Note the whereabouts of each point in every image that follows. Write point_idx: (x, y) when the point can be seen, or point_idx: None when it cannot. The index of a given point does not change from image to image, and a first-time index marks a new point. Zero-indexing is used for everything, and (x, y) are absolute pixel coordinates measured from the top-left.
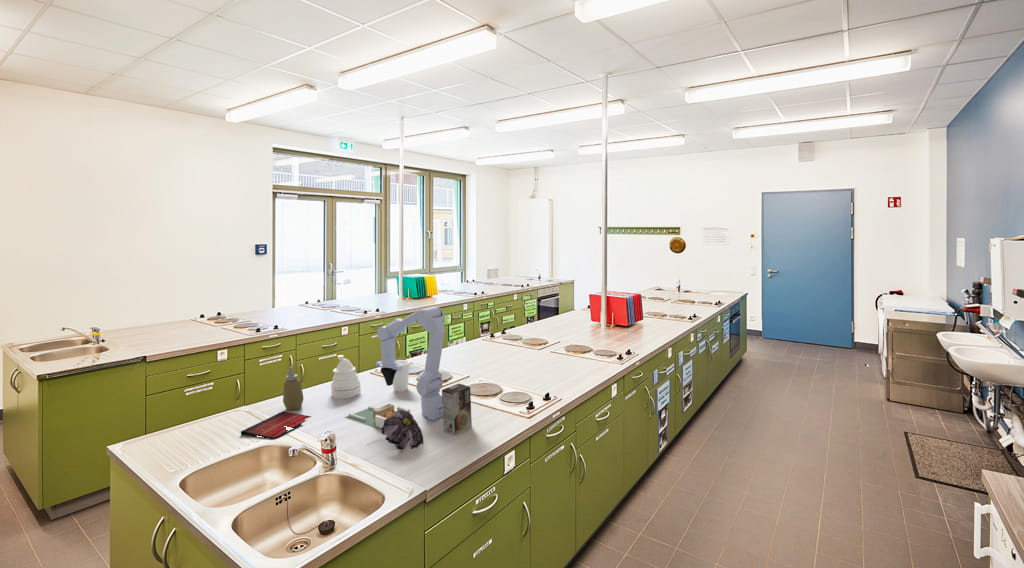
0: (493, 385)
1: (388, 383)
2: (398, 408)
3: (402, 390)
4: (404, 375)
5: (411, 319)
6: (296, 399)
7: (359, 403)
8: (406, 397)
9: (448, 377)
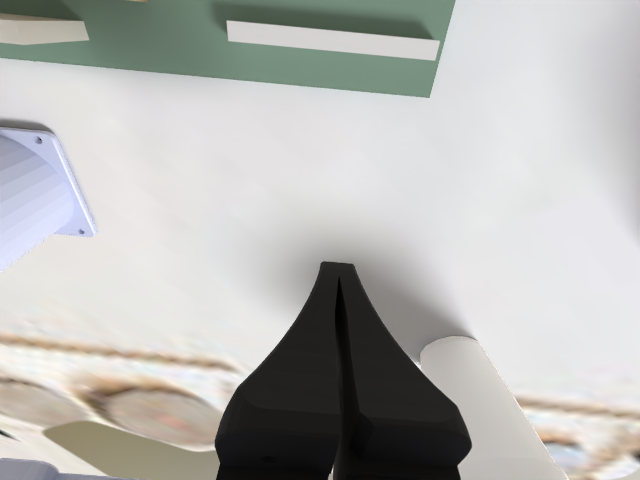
0: (174, 439)
1: (319, 275)
2: (2, 18)
3: (428, 346)
4: None
5: None
6: None
7: (590, 128)
8: None
9: None
